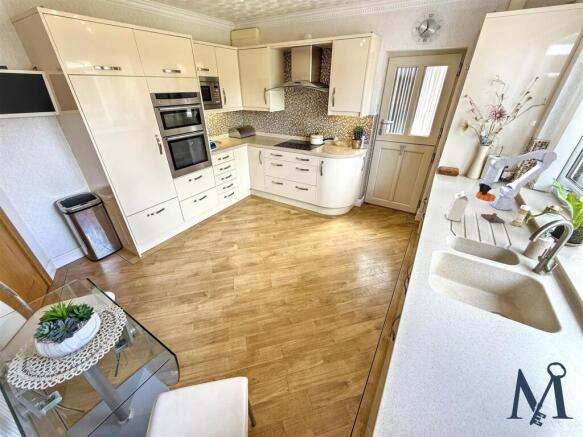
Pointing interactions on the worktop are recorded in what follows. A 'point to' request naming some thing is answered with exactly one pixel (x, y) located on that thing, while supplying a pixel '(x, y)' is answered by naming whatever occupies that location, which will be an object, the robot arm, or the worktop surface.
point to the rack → (493, 218)
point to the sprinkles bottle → (520, 215)
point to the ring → (485, 196)
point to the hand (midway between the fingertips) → (481, 194)
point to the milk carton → (457, 206)
